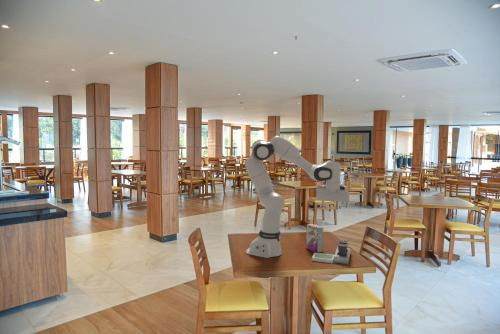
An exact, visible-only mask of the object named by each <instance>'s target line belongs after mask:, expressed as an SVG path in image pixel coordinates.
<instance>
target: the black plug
mask: <svg viewBox="0 0 500 334" xmlns="http://www.w3.org/2000/svg"><path fill="white" fill-rule="evenodd" d="M337 247H338V249H339V255H342V256H346V250H347V248H348V243H347V244H339V243H338V245H337Z"/></svg>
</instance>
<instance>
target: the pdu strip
mask: <svg viewBox="0 0 500 334" xmlns="http://www.w3.org/2000/svg"><path fill="white" fill-rule="evenodd" d="M334 255H335V256H334V261H333V263H338V264H345V265H349V262H350V256H351V248H350V247H347V252H346V256H342V255H339V249H338V246H337V247H336V250H335V254H334Z"/></svg>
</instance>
